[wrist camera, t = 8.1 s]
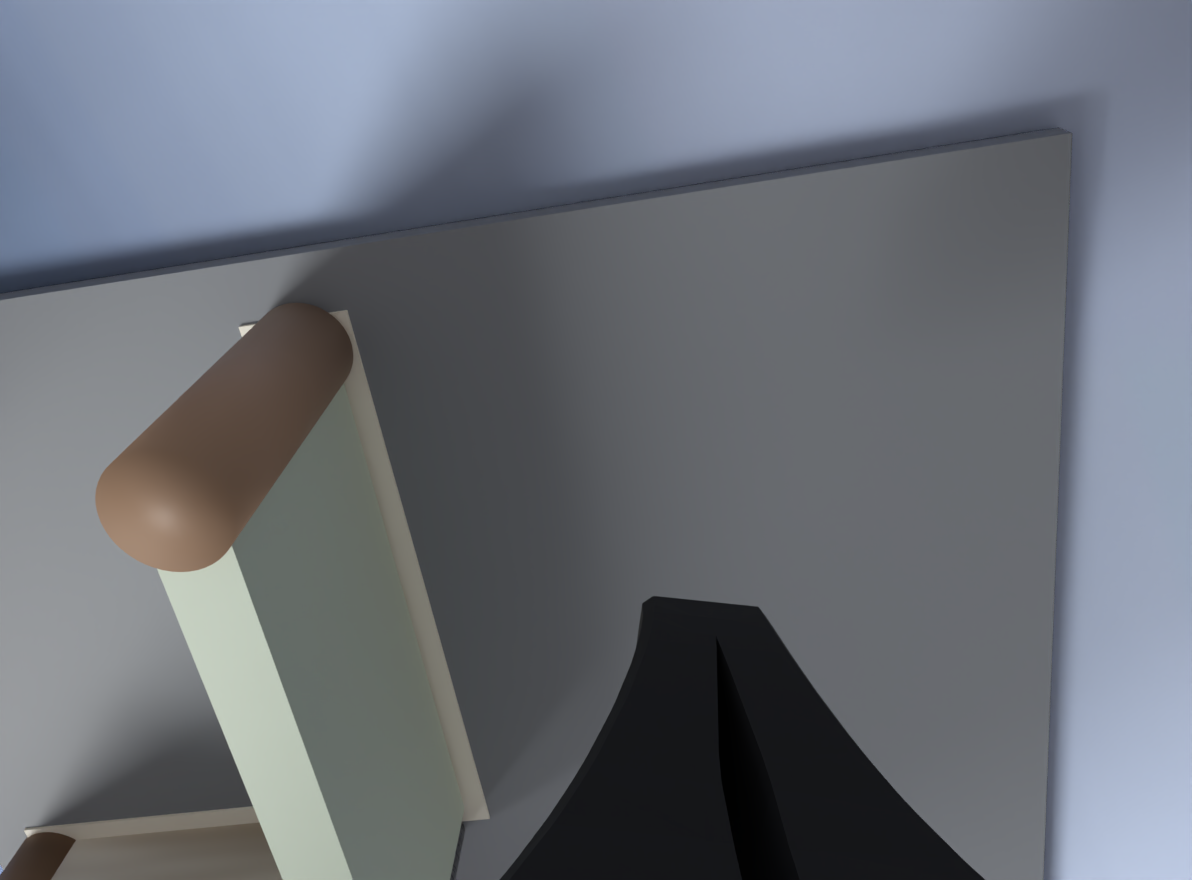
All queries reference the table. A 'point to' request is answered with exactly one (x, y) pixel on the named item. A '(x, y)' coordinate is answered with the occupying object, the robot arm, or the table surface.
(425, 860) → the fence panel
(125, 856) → the fence fixed section
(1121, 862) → the table surface
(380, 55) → the table surface
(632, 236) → the board
